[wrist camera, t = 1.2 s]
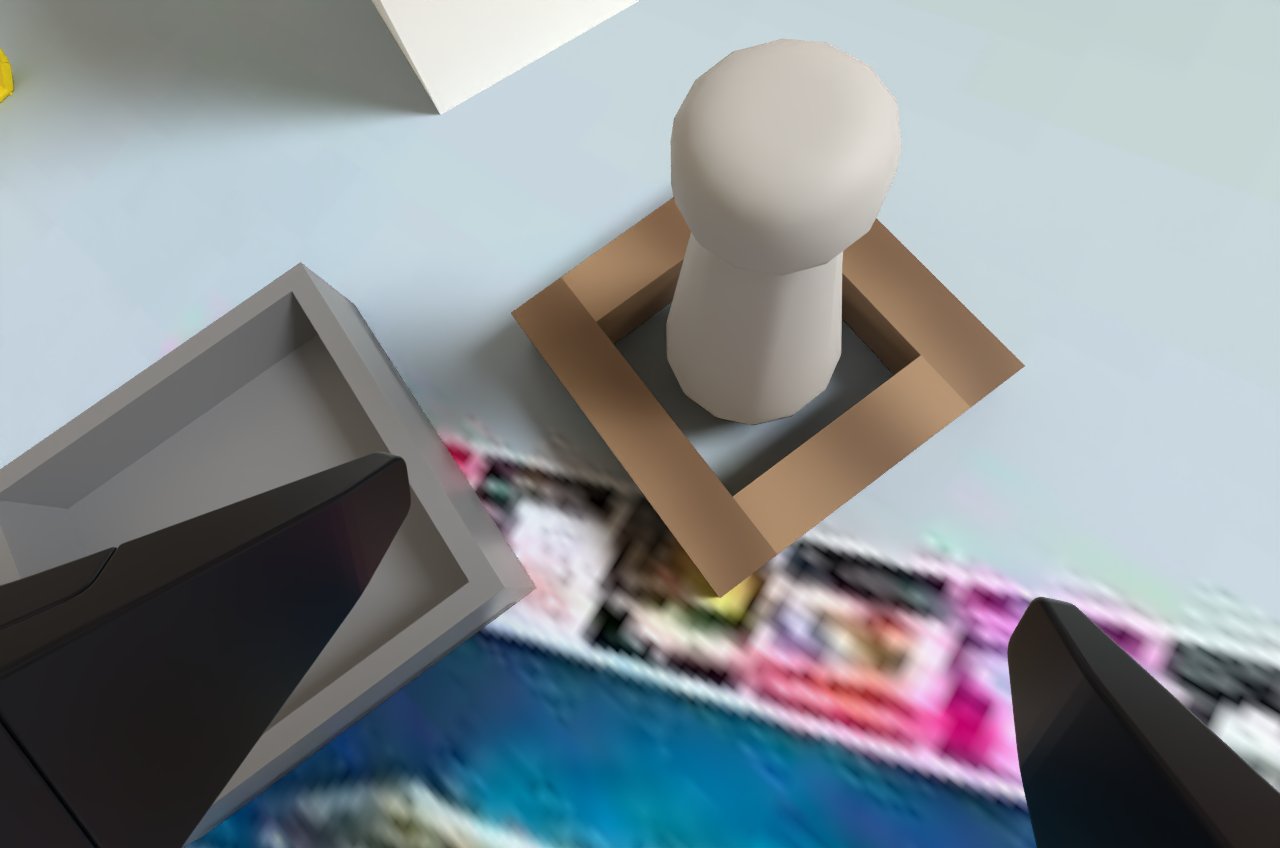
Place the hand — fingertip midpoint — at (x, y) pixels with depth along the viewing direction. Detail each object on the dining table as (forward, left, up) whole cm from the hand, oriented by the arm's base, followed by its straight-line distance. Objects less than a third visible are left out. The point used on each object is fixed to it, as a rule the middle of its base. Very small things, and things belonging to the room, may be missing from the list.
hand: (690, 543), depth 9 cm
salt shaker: (+6, +5, -13) cm, 16 cm away
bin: (-12, +10, -13) cm, 21 cm away
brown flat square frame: (+6, +5, -13) cm, 15 cm away
